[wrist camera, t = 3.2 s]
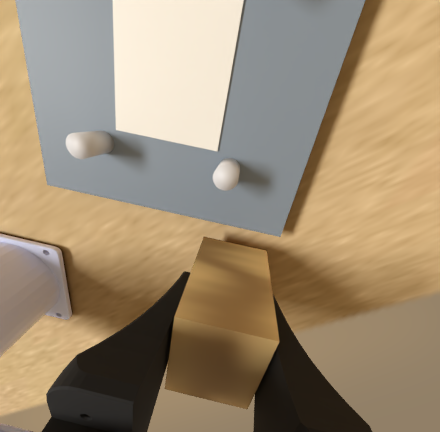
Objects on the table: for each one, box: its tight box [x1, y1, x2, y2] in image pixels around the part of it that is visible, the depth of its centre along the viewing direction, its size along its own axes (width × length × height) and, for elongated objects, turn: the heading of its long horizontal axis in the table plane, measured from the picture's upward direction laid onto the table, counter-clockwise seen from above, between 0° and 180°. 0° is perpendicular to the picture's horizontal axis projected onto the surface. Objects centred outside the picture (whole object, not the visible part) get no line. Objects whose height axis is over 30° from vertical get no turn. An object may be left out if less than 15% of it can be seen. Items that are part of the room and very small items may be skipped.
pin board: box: [15, 0, 365, 237], centre depth 10 cm, size 15×15×3 cm
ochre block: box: [165, 237, 279, 409], centre depth 12 cm, size 4×5×6 cm
